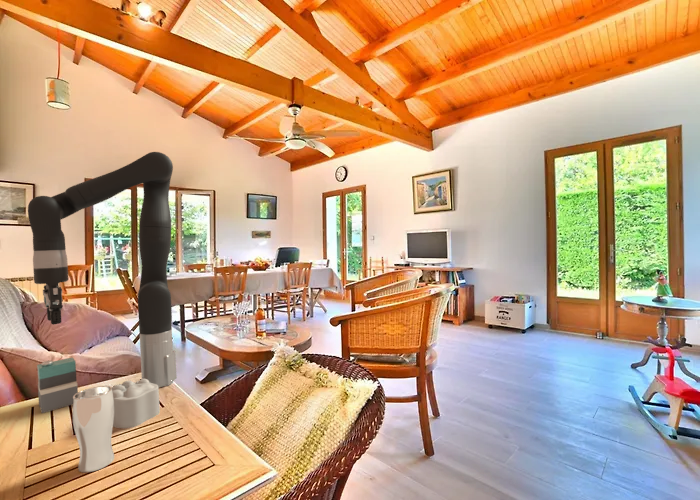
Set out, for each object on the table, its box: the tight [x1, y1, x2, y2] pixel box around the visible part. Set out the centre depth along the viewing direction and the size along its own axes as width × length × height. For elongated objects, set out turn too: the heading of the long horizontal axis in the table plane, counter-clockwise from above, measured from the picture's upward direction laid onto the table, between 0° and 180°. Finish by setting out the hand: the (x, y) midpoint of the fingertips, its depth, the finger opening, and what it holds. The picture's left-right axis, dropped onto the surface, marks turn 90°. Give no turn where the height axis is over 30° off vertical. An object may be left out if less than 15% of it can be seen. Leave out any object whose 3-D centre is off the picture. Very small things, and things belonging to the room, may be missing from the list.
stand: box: [37, 381, 79, 414], centre depth 100 cm, size 8×8×6 cm
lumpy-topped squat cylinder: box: [111, 378, 161, 429], centre depth 91 cm, size 10×13×9 cm
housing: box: [36, 356, 78, 390], centre depth 100 cm, size 5×8×7 cm, turn 136°
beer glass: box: [72, 385, 115, 474], centre depth 72 cm, size 7×7×15 cm
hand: (54, 321), depth 100 cm, fingers open, 8 cm apart
